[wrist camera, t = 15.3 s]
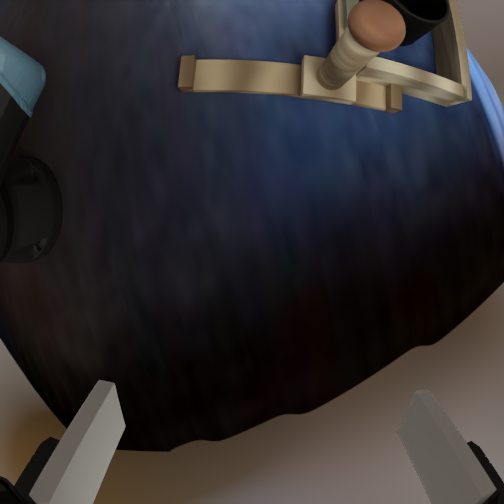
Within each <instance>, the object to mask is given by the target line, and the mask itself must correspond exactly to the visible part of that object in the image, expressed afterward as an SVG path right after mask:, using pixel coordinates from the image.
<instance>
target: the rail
mask: <svg viewBox="0 0 504 504" xmlns="http://www.w3.org/2000/svg"><path fill="white" fill-rule="evenodd" d="M178 87H179V89H180V90H181V91H182V92H233V93H255V94H270V95H282V96H292V97H300V91H301V65H298V64H289V63H279V62H267V61H251V60H196V58H195V56H194V55H193V56H182V57H181V65H180V73H179V82H178ZM351 105H356V106H361V107H366V108H371V109H376V110H381V111H386V112H390V113H395V112H398V111H401V110H402V87H401V86H397V85H394V84H390V85H388V86H386V87H385V86H381V85H377V84H372V83H368V82H363V81H358V80H356V102H354V103H353V104H351Z"/></svg>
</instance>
